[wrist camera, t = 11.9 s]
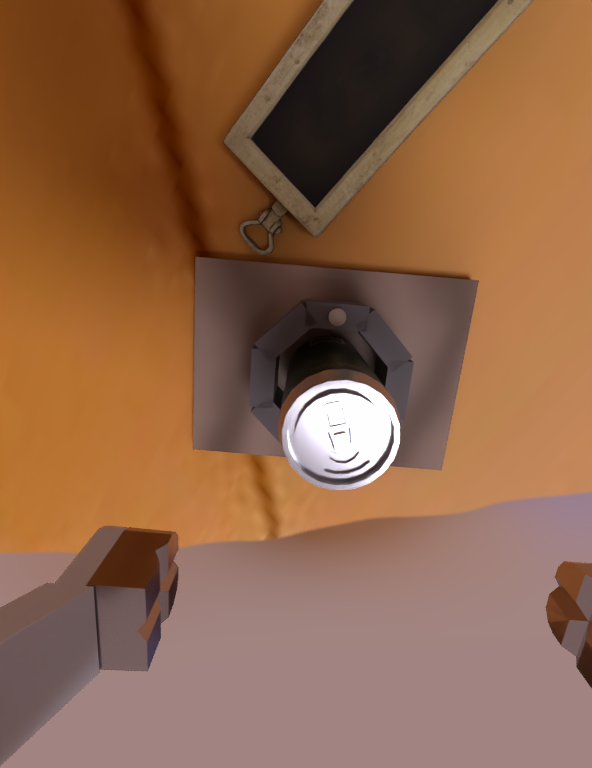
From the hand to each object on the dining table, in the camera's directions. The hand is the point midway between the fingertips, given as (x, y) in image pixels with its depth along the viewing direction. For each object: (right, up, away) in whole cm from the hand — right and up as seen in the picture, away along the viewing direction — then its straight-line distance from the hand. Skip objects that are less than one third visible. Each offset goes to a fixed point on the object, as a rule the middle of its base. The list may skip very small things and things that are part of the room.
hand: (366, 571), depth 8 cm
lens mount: (+1, +5, +20) cm, 21 cm away
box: (+3, +22, +16) cm, 27 cm away
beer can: (+1, +5, +20) cm, 20 cm away
